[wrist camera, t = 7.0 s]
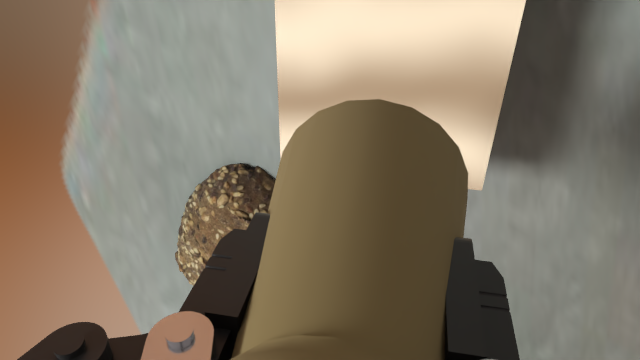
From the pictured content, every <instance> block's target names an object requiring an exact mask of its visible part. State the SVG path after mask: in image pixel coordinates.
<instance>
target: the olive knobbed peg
mask: <svg viewBox="0 0 640 360" xmlns="http://www.w3.org/2000/svg"><path fill="white" fill-rule="evenodd" d="M467 193H468V171H467V168H466V166H465V163H464V160H463V157H462V154H461V152H460V149H459V147H458V145H457V144H456V143H455V142H454V141H453V140H452V138H451V137H450V136H449V135H448V134H447V132H446V131H445V130H444V129H443V128H442V126H441V125H440V124H439V123H437V122H435V121H434V120H432V119H430V118H429V117H427V116H425V115H424V114H422V113H421V112H419V111H417V110H416V109H414V108H412V107H409V106H405V105H401V104H397V103H393V102H389V101H385V100H381V99H371V100H350V101H345V102H342V103H339V104H336V105H334V106H331V107H328V108H326V109H323V110H320V111H318V112H317V113H315V114H314V115H313V116H312V117H310V118H309V119H308V120H307V121H305V122H304V123H303V124H302V125H300V126H299V127H298V128H297V129H296V130H295V132H294V133H293V135H292V137H291V138H290V140H289V142H288V144H287V145H286V147H285V149H284V150H283V153H282V157H281V161H280V165H279V169H278V173H277V177H276V181H275V185H274V189H273V193H272V197H271V201H270V205H269V209H268V213H267V214H270V219H269V224H268V228H267V233H266V237H265V242H264V247H263V251H262V256H261V260H260V265H259V269H258V272H257V275H256V279H255V282H254V285H253V288H252V291H251V295H250V298H249V301H248V304H247V307H246V311H245V314H244V317H243V320H242V323H241V327H240V330H239V332H238V334H237V338H236V342H235V346H234V350H233V354H232V358H231V359H230V360H445V313H446V290H447V284H448V277H449V271H450V264H451V258H452V251H453V245H454V239H455V238H456V237H460V238H463V235H464V225H465V216H466V207H467Z"/></svg>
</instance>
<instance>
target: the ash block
mask: <svg viewBox="0 0 640 360" xmlns="http://www.w3.org/2000/svg"><path fill="white" fill-rule="evenodd" d="M525 3H526V0H275V19H276V46H277V73H278V100H279V128H280V155H281V157H282V153H283V150H284V149H285V147H286V145H287V144H288V142H289V140H290V138H291V137H292V135H293V133H294V132H295V130H296V129H297V128H298V127H299V126H300V125H302V124H303V123H304V122H305V121H307V120H308V119H309V118H310V117H312V116H313V115H314V114H315V113H317V112H318V111H320V110H323V109H326V108H328V107H331V106H334V105H336V104H339V103H342V102H345V101H350V100H371V99H381V100H385V101H389V102H393V103H397V104H401V105H405V106H409V107H412V108H414V109H416V110H417V111H419V112H421V113H422V114H424V115H425V116H427V117H429V118H430V119H432V120H434V121H435V122H437V123H439V124H440V125H441V126H442V128H443V129H444V130H445V131H446V132H447V134H448V135H449V136H450V137H451V138H452V140H453V141H454V142H455V143H456V144H457V145H458V147H459V149H460V152H461V154H462V157H463V160H464V163H465V166H466V168H467V171H468V189H474V190H482V187H483V183H484V178H485V174H486V170H487V166H488V161H489V157H490V153H491V148H492V144H493V140H494V136H495V131H496V127H497V123H498V118H499V114H500V110H501V106H502V101H503V97H504V93H505V88H506V84H507V80H508V75H509V71H510V67H511V63H512V58H513V54H514V50H515V45H516V41H517V37H518V33H519V28H520V24H521V20H522V15H523V11H524V7H525Z"/></svg>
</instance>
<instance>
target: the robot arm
mask: <svg viewBox="0 0 640 360" xmlns="http://www.w3.org/2000/svg"><path fill="white" fill-rule="evenodd" d="M269 219H270V214H267V213H259V212H256V213H255V214H254V216H253V218H252V220H251V222H250V224H249V226H248V228H247V230H242V229H233V230H232V231H231V232H229V233H228V234H227V235H226V236H224V237H223V238H222V239H220V241H219V242H218V244H217V246H216V248H215V249H214V251H213V253H212V257H210V258H209V260H208V262H207V263H206V265H205V268H204V269H203V270H202V272H201V274H200V276H199V277H198V279H197V281H196V283H195V284H194V286H193V288H192V290H191V291H190V293H189V295H188V297H187V298H186V300H185V302H184V304H183V305H182V307H181V309H180V311H179V312H178V313H174V314H171V315H168V316H167V317H165V318H163V319H161V320H160V321H159V322H157V323H156V324H155V325H154V326H153V328H152V329H151V330H150V332H149V333H146V334H142V335H135V336H128V337H119V338H110V339H108V338H107V335H106V332H105V330H104V329H103V328H102V327H100V326H99V325H97V324H95V323H90V322H78V323H73V324H69V325H66V326H64V327H62V328H59V329H58V330H56V331H54V332H53V333H51V334H50V335H48V336H47V337H46V338H44V339H43V340H42V341H41V342H40V343H38V344H37V345H35V346H34V347H33V348H32V349H30V350H29V351H28V352H26V353H25V354H24V355H23V356H21V357H20V358H19V359H17V360H230V359H231V358H232V354H233V350H234V346H235V342H236V338H237V334H238V332H239V330H240V327H241V323H242V320H243V317H244V314H245V311H246V307H247V304H248V301H249V298H250V295H251V291H252V288H253V285H254V282H255V279H256V275H257V272H258V269H259V265H260V260H261V256H262V251H263V247H264V242H265V237H266V233H267V228H268V224H269ZM506 297H507V294H506V289H505V284H504V279H503V277H502V275H501V274H500V273H499V271H498V270H497V269H496V267H495V266H494V265H493V263H492V262H487V261H480V260H475V259H474V251H473V244H472V240H471V239H468V238H460V237H456V238H455V239H454V245H453V251H452V258H451V264H450V271H449V277H448V284H447V290H446V313H445V360H520V359H519V354H518V349H517V344H516V339H515V334H514V329H513V324H512V319H511V314H510V313H509V304H508V299H507V298H506Z"/></svg>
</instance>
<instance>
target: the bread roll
mask: <svg viewBox="0 0 640 360" xmlns="http://www.w3.org/2000/svg"><path fill="white" fill-rule="evenodd" d="M274 185H275V181H274V180H273V179H272V178H271V177H270V176H269V175H268V174H267V173H266V172H265V171H264V170H262V169H261V168H260V167H258V166H256V167H247V166H246V165H244V164H230V165H227V166H223V167H221V168H220V169H216V170H215V172H214V173H212V174H211V175H210V176H209V177H208V178H207V179H206V180H204V181H203V182H202V183H201V184H198V185H197V186H196V188H195V191H194V192H193V193H192V195H191V196H190V197H189V200H188V202H187V203H186V205H185V212H184V213H183V216H182V220H181V226H180V228H179V235H178V243H177V246H178V251H177V252H176V253H175V258H176V261H177V263H178V265H179V270H180V272H183V274H184V275H185V277H186V278H187V279H188V281H189V283H190V284H192V285H193V286H194V284H195V283H196V281H197V279H198V277H199V276H200V274H201V272H202V270H203V269H204V268H205V265H206V263H207V262H208V260H209V258H210V257H212V253H213V251H214V249H215V248H216V246H217V244H218V242H219V241H220V239H222V238H223V237H224V236H226V235H227V234H228V233H229V232H231V231H232V230H233V229H242V230H247V228H248V226H249V224H250V222H251V220H252V218H253V216H254V214H255V213H256V212H259V213H268V209H269V205H270V201H271V197H272V193H273V189H274Z"/></svg>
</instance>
